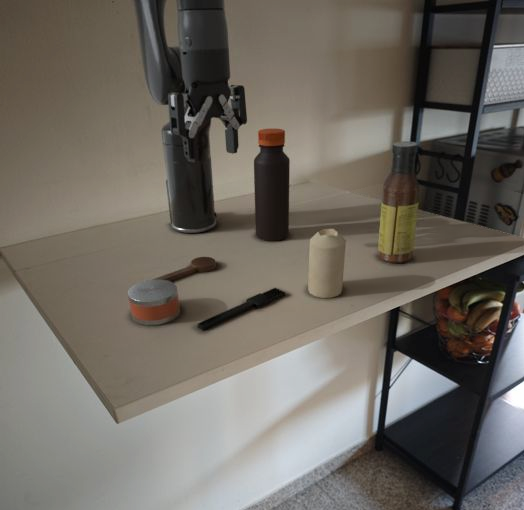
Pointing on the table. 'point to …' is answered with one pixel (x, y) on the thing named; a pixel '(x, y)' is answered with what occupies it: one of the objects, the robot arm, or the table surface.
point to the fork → (243, 307)
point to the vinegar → (271, 186)
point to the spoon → (191, 268)
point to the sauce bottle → (399, 205)
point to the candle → (326, 263)
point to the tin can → (154, 302)
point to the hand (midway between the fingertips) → (212, 157)
